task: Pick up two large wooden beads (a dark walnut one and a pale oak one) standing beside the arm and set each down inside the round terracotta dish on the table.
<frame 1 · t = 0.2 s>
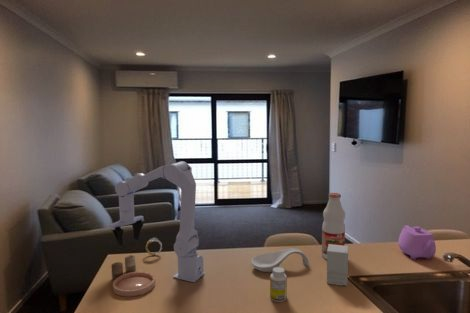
hand: (128, 241, 140), 10 cm above the table, fingers open, 7 cm apart
supplement box: (336, 281, 127), on the table
oak bead: (130, 270, 136), on the table
dish: (134, 286, 124), on the table
ring: (154, 255, 151), on the table
spoon rest: (279, 268, 139), on the table
teapot: (416, 255, 149), on the table
walnut bead: (117, 278, 130), on the table
fruit juice: (332, 257, 148), on the table
supplement bottle: (278, 298, 115), on the table
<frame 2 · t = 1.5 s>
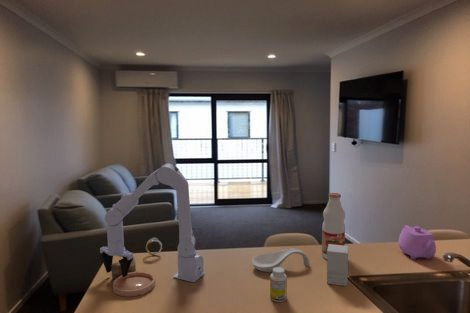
hand: (117, 273, 129), 2 cm above the table, fingers open, 7 cm apart
nothing on the table moved.
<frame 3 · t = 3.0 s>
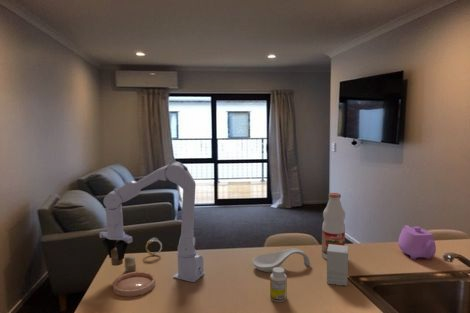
hand: (116, 258, 129), 8 cm above the table, fingers closed on walnut bead, 4 cm apart
walnut bead: (117, 263, 129), point 6 cm above the table, touching gripper
everything else where it was.
when the fingers open (3 cm above the table, at t = 5.4 s): walnut bead stays where it is, resting on dish.
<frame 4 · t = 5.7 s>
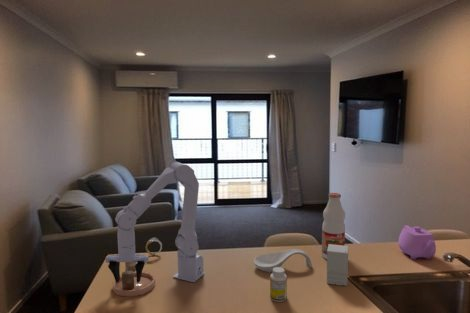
hand: (128, 281, 121), 3 cm above the table, fingers open, 7 cm apart
walnut bead: (128, 287, 121), point 1 cm above the table, touching dish
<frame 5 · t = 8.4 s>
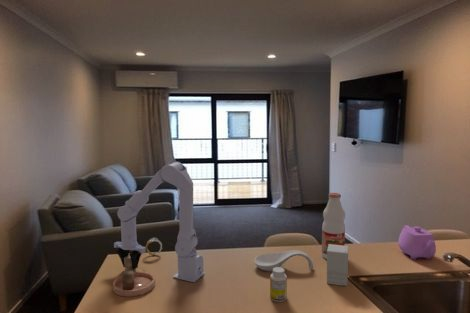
hand: (130, 267, 136), 1 cm above the table, fingers closed on oak bead, 4 cm apart
oak bead: (130, 270, 136), on the table, touching gripper
when the fingers open (3 cm above the table, at t = 12.1 s): oak bead drops 1 cm, resting on dish.
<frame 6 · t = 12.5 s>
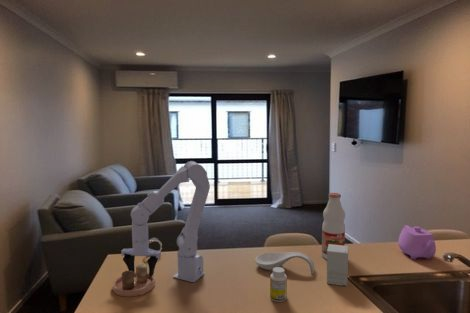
hand: (141, 274, 125), 3 cm above the table, fingers open, 7 cm apart
oak bead: (142, 280, 126), point 1 cm above the table, touching dish
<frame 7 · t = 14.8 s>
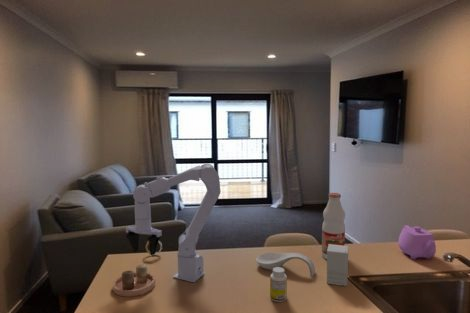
hand: (144, 252, 128), 10 cm above the table, fingers open, 7 cm apart
at the end: walnut bead 3.1 cm from the dish (horizontally); oak bead 3.2 cm from the dish (horizontally); the gripper is holding nothing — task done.
